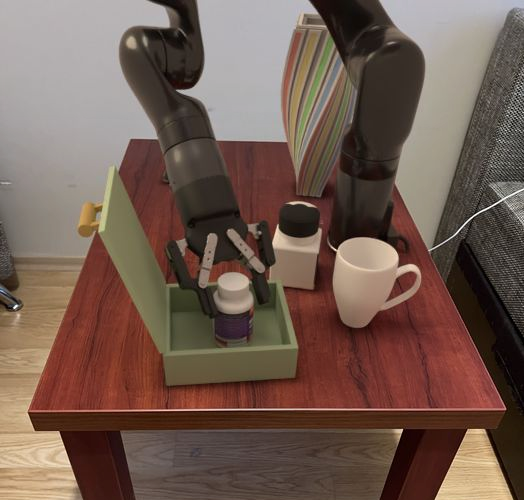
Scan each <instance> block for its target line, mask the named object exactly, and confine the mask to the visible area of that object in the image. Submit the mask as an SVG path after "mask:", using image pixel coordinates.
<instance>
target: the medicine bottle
mask: <svg viewBox="0 0 524 500" xmlns="http://www.w3.org/2000/svg"><path fill="white" fill-rule="evenodd" d="M278 213H279V214H278V224H277V225H276V228H275V231H274V232H275V233H274V236H273V239H272V244H273V249H274V254H275V259H276V263H275V264H274V265H272V266H271V267H270V268H269V279H268V280H277V279H281V282H282V286H283V287H286V288H287V287H288V288H294V289H303V290H310V291H312V290H314V289H315V285H316V278H317V274H318V273H317V272H318V265H319V257H320V250H321V242H322V236H323V235H322V234H323V229H322V228H321V227H319V226H320V218H321V212H320V209H319V208H318V207H317V206H316V205H314V204H312V203H309V202H306V201H290V202H287V203H285V204H283V205H282V206H281V207H280V208H279V212H278Z"/></svg>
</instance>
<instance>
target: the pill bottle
mask: <svg viewBox="0 0 524 500" xmlns="http://www.w3.org/2000/svg"><path fill="white" fill-rule="evenodd" d="M249 281H250V279H249V278H248V276H246V275H245V274H243V273H240V272H237V271H236V272H235V271H231V272H225V273H223V274H221V275H220V276H219V277H218V279H217V281H216V282H217V290H216V291H215V293H214V295H213V297H214V300H215V304H216V307H217V310H218V314H219V316H218V317H216V318H213V337H214V341H215V343H216V344H217V345H218V346H219V347H221V348H236V347H247V346H248V345H249V344H250V343H251V341H252V336H253V309H254V298H253V295H252V293H251V292H250V291H249Z"/></svg>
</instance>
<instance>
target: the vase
mask: <svg viewBox="0 0 524 500" xmlns="http://www.w3.org/2000/svg"><path fill="white" fill-rule="evenodd" d="M289 42H290V43H289V46H288V49H287V54H286V58H285V61H284V62H285V63H284V67H283V71H282V72H283V73H282V78H281V84H280V86H281V87H280V110H281V111H280V112H281V119H282V124H283V130H284V131H283V132H284V136H285V140H286V144H287V147H288V151H289V154H290V158H291V161H292V162H291V163H292V166H293V170H294V173H295V181H296V190H295V191H296V192H295V196H304V197H317V198H322V194H323V191H324V189H325V187H326V186H327V183H328V181H329V179H330V177H331V175H332V173H333V171H334V169H335V166H336V165H337V163H338V161H339V157H340V150H341V143H342V136H343V131H344V129H345V127H346V126H347V125H348V124H350V123H351V122H352V118H353V113H354V107H355V101H356V95H357V90H356V89H355V87H354V86H353V85H352V83H351V81H350V79H349V77H348V74H347V72H346V69H345V67H344V65H343V62H342V60H341V57H340V55H339V53H338V50H337V48H336V46H335V44H334V42H333V40H332V37H331V35H330V33H329V31H328V29H327V27H326V25H325V23H324V22H323V20H322V18H321V17H320V15H319V14H318V13H311V12H301V13H300V14H299V15H298V17H297V19H296V22H295V25H294V27H293V31H292V34H291V38H290V41H289Z"/></svg>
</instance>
